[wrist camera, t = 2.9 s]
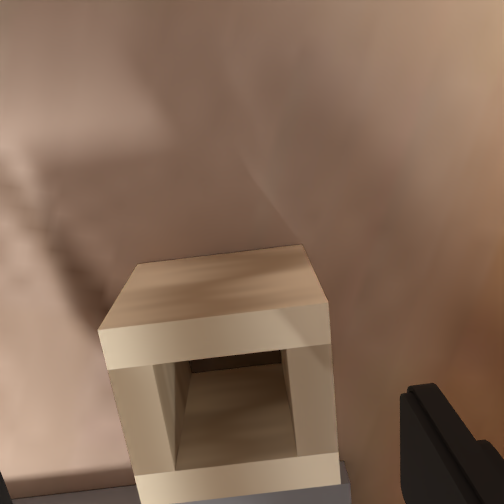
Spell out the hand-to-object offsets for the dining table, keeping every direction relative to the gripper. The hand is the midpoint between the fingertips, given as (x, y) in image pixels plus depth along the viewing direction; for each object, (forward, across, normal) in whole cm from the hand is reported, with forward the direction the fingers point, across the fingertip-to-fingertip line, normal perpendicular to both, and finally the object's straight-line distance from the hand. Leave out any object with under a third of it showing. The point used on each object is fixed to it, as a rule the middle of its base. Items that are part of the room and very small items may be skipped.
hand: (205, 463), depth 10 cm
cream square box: (+7, 0, +1) cm, 7 cm away
